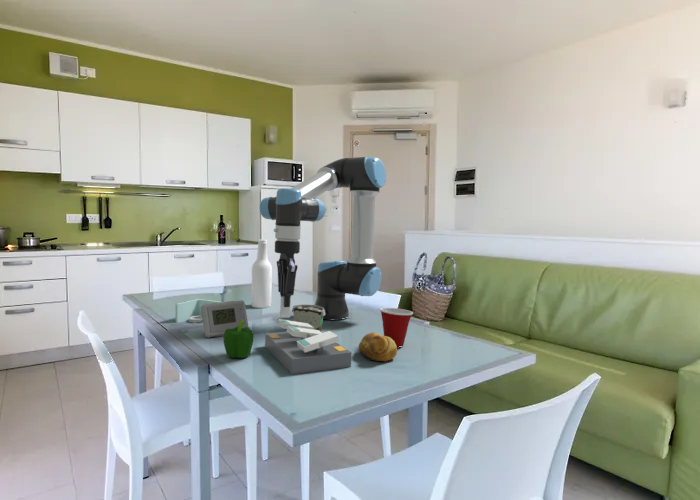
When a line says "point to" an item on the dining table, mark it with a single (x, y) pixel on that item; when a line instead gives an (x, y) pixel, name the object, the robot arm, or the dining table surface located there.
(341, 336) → the dining table surface
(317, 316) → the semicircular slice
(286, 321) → the rocker
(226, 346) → the bell pepper
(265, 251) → the alcohol
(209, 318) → the digital clock
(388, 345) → the bread roll
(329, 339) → the white rectangular block
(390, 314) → the plastic cup
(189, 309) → the l-shaped corner panel
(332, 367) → the switch unit
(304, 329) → the rocker
